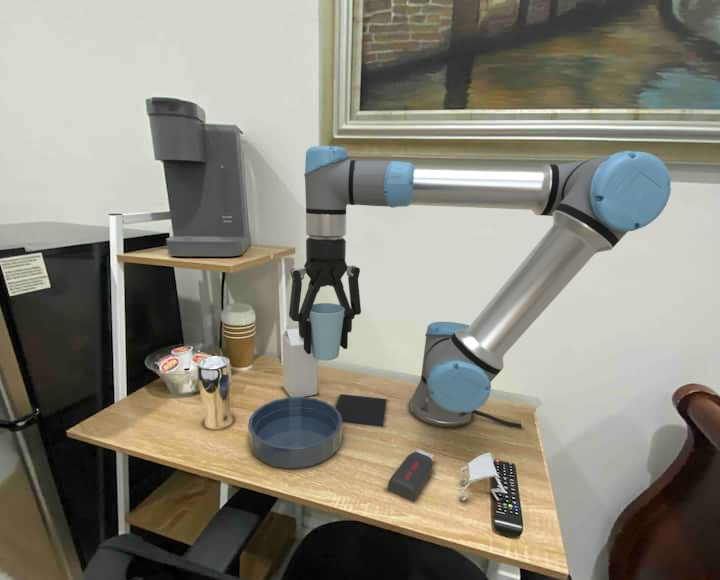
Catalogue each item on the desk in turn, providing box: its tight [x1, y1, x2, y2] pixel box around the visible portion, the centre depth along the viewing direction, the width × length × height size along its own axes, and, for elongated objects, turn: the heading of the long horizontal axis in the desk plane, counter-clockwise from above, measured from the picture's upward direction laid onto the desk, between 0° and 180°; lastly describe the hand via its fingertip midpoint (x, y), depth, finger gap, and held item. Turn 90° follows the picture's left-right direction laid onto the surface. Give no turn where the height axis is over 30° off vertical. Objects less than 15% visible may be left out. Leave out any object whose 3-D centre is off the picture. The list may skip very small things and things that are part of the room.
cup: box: [308, 302, 345, 361], centre depth 80 cm, size 8×8×10 cm
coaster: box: [335, 393, 387, 427], centre depth 97 cm, size 12×12×1 cm
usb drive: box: [387, 449, 434, 502], centre depth 75 cm, size 5×12×3 cm, turn 149°
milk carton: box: [282, 323, 319, 398], centre depth 101 cm, size 7×7×19 cm
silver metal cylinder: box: [196, 355, 234, 430], centre depth 86 cm, size 7×7×15 cm
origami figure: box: [457, 452, 507, 501], centre depth 73 cm, size 12×8×5 cm
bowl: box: [247, 396, 344, 469], centre depth 83 cm, size 19×19×5 cm
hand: (325, 348), depth 82 cm, fingers closed on cup, 7 cm apart
